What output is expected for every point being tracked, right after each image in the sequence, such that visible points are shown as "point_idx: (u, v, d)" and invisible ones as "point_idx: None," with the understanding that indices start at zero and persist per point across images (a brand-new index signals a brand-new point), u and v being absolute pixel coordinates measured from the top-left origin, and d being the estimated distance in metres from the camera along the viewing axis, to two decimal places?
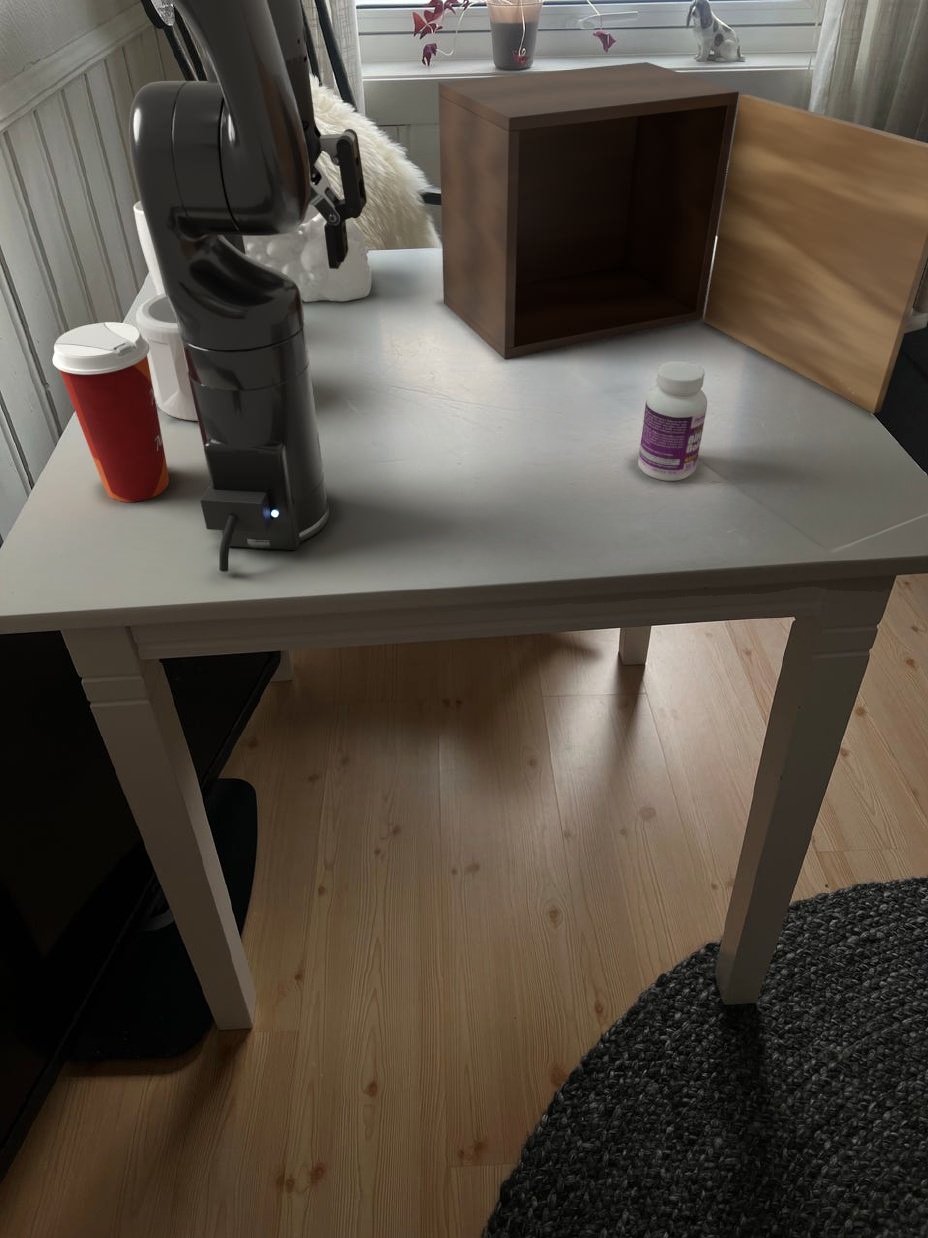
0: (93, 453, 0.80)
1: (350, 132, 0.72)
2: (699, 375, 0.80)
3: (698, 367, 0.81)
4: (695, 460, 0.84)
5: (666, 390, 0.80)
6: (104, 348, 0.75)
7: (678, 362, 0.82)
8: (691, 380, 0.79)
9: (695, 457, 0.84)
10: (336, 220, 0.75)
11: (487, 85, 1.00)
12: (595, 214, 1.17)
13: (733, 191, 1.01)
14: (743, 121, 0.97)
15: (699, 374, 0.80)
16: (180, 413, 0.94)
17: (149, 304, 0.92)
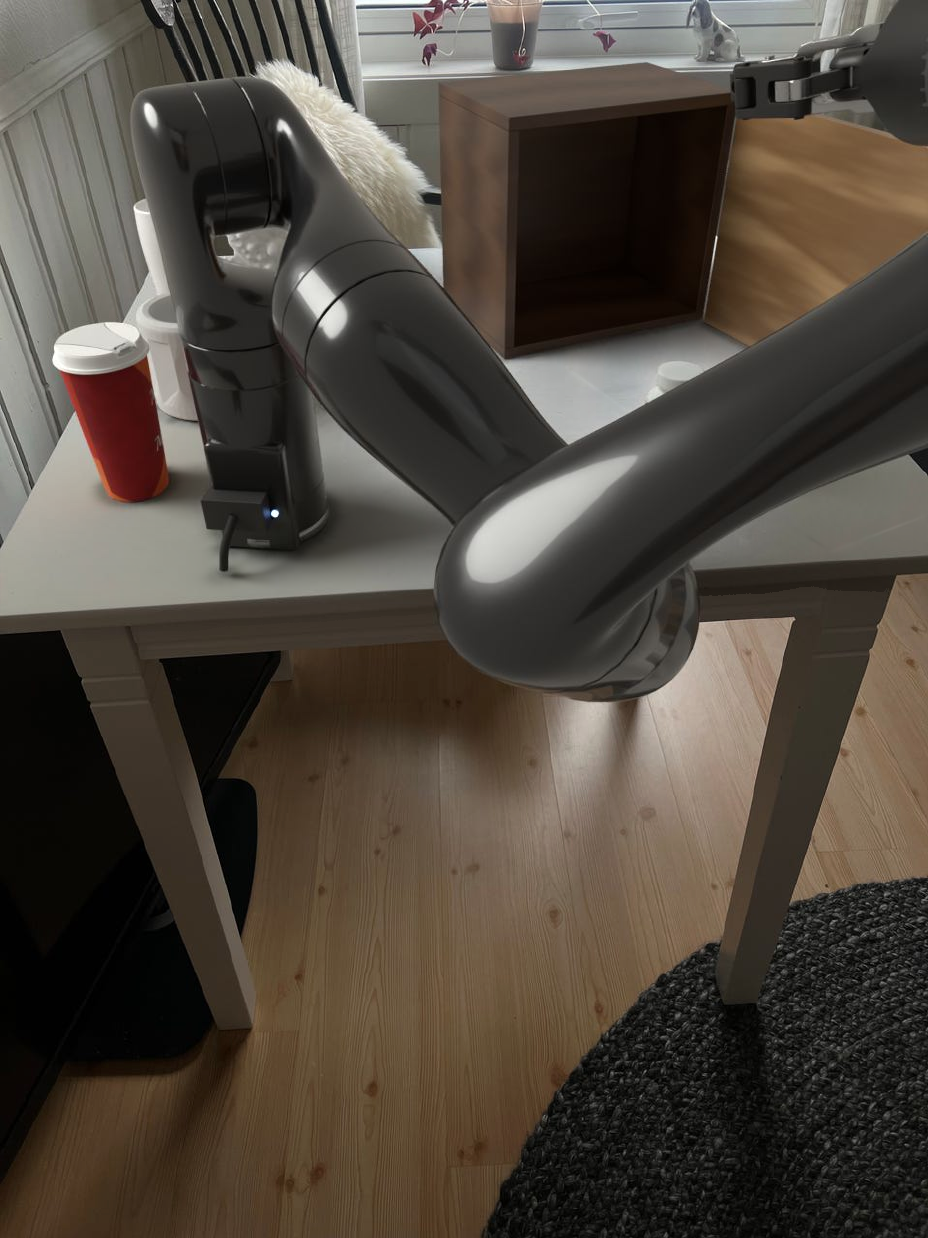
0: (93, 453, 0.80)
1: None
2: None
3: (698, 367, 0.81)
4: None
5: (666, 390, 0.80)
6: (104, 348, 0.75)
7: (678, 362, 0.82)
8: None
9: None
10: None
11: (487, 85, 1.00)
12: (595, 214, 1.17)
13: (733, 191, 1.01)
14: (743, 121, 0.97)
15: (699, 374, 0.80)
16: (180, 413, 0.94)
17: (149, 304, 0.92)
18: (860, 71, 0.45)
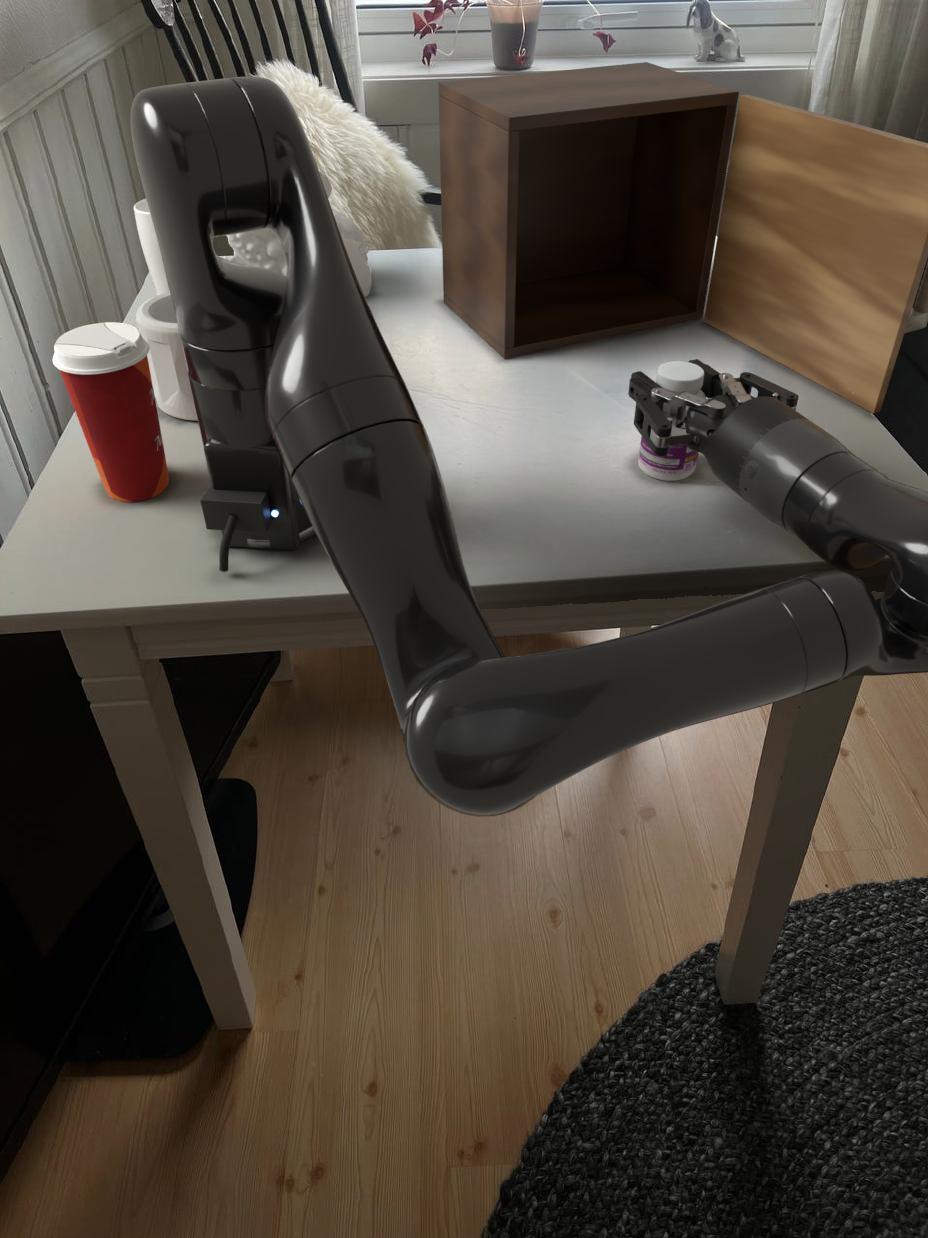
0: (93, 453, 0.80)
1: (796, 405, 0.78)
2: (699, 375, 0.80)
3: (698, 367, 0.81)
4: (695, 460, 0.84)
5: None
6: (104, 348, 0.75)
7: (678, 362, 0.82)
8: (691, 380, 0.79)
9: (695, 457, 0.84)
10: None
11: (487, 85, 1.00)
12: (595, 214, 1.17)
13: (733, 191, 1.01)
14: (743, 121, 0.97)
15: (699, 374, 0.80)
16: (180, 413, 0.94)
17: (149, 304, 0.92)
18: (704, 443, 0.74)
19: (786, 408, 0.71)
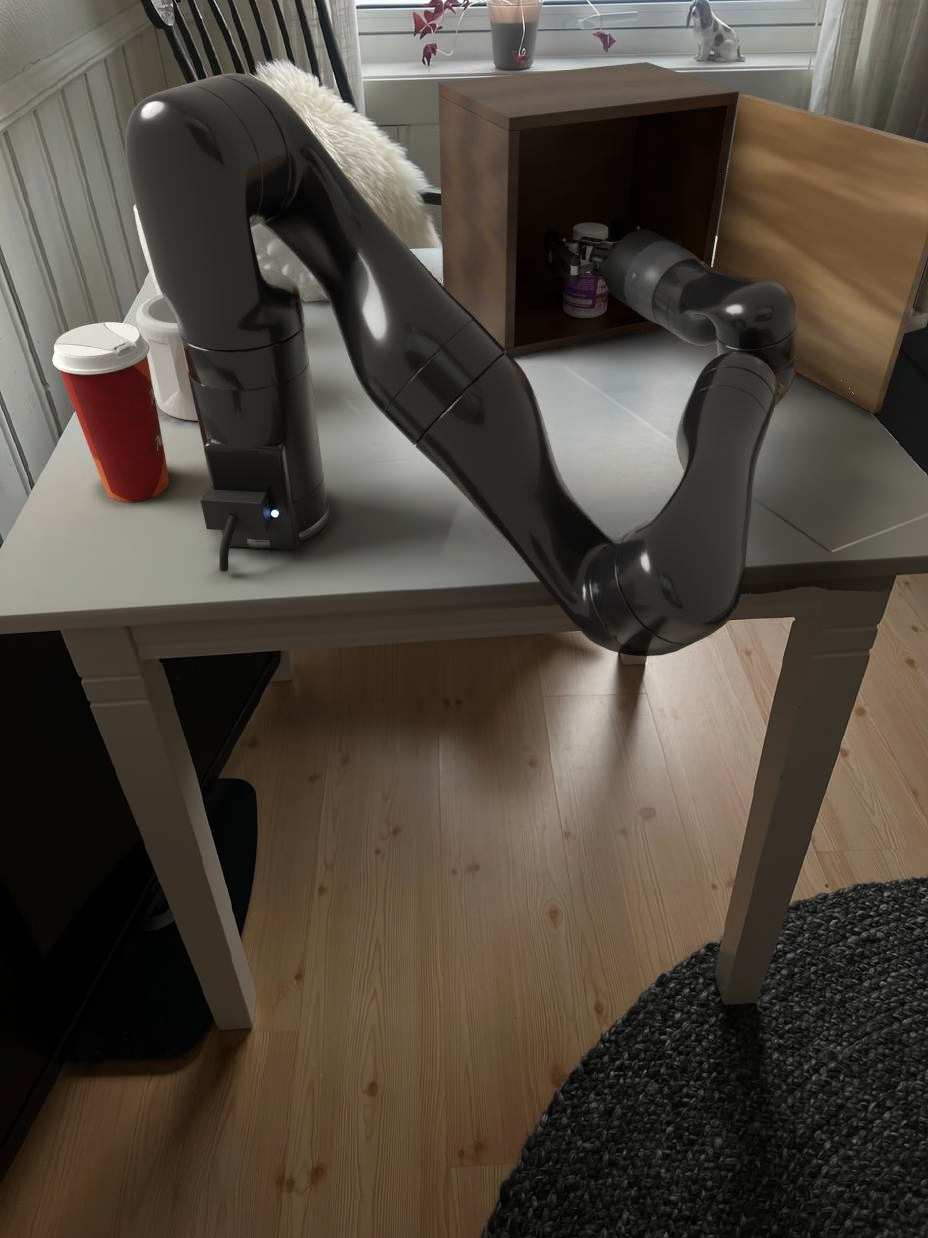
0: (93, 453, 0.80)
1: None
2: (604, 230, 1.05)
3: (604, 226, 1.06)
4: (605, 302, 1.10)
5: None
6: (104, 348, 0.75)
7: (589, 223, 1.07)
8: (597, 233, 1.04)
9: (604, 299, 1.09)
10: None
11: (487, 85, 1.00)
12: (595, 214, 1.17)
13: (733, 191, 1.01)
14: (743, 121, 0.97)
15: (604, 229, 1.05)
16: (180, 413, 0.94)
17: (149, 304, 0.92)
18: (601, 267, 0.98)
19: (659, 235, 0.96)
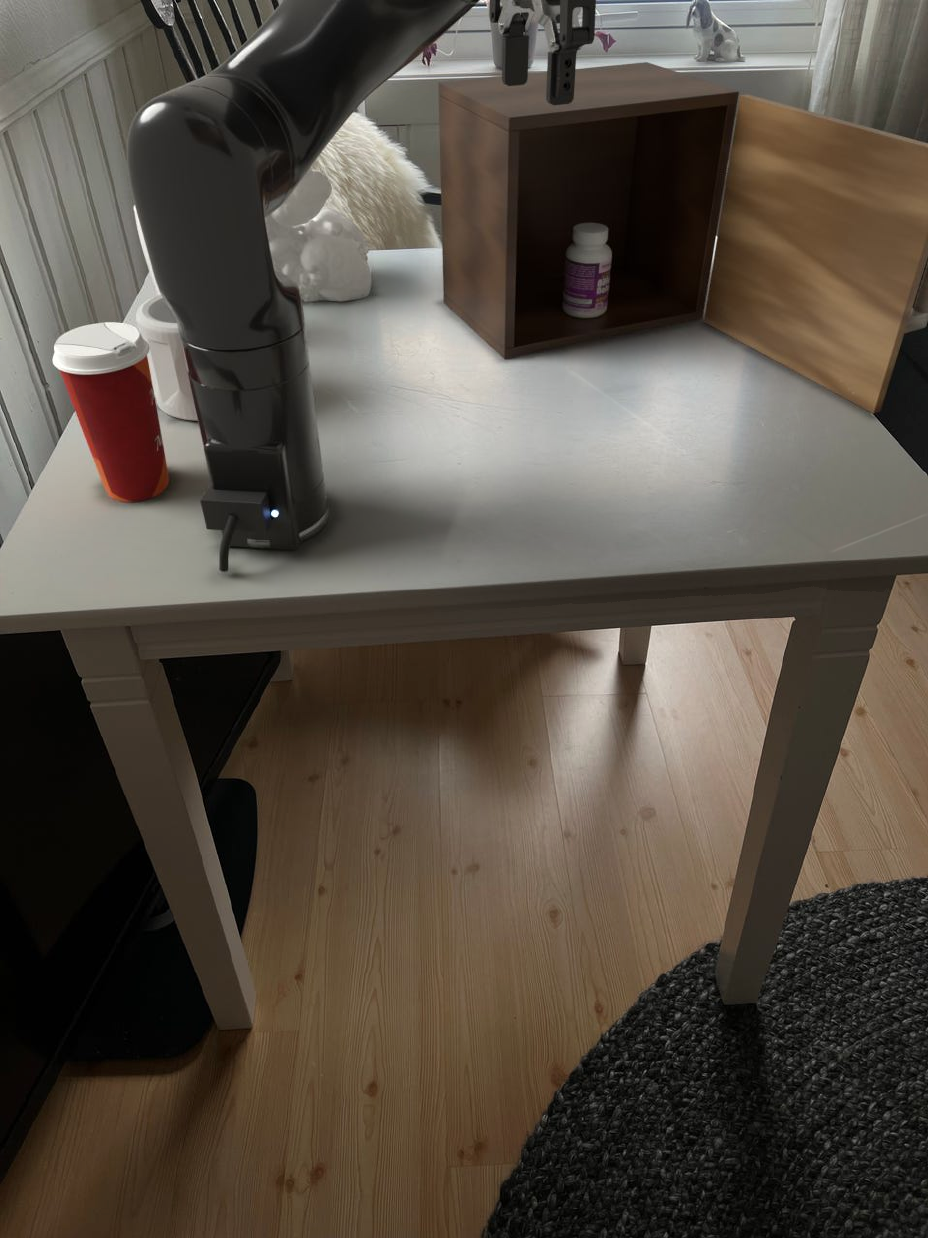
0: (93, 453, 0.80)
1: None
2: (604, 230, 1.05)
3: (604, 226, 1.06)
4: (605, 302, 1.10)
5: (579, 242, 1.05)
6: (104, 348, 0.75)
7: (589, 223, 1.07)
8: (597, 233, 1.04)
9: (604, 299, 1.09)
10: None
11: (487, 85, 1.00)
12: (595, 214, 1.17)
13: (733, 191, 1.01)
14: (743, 121, 0.97)
15: (604, 229, 1.05)
16: (180, 413, 0.94)
17: (149, 304, 0.92)
18: None
19: None
